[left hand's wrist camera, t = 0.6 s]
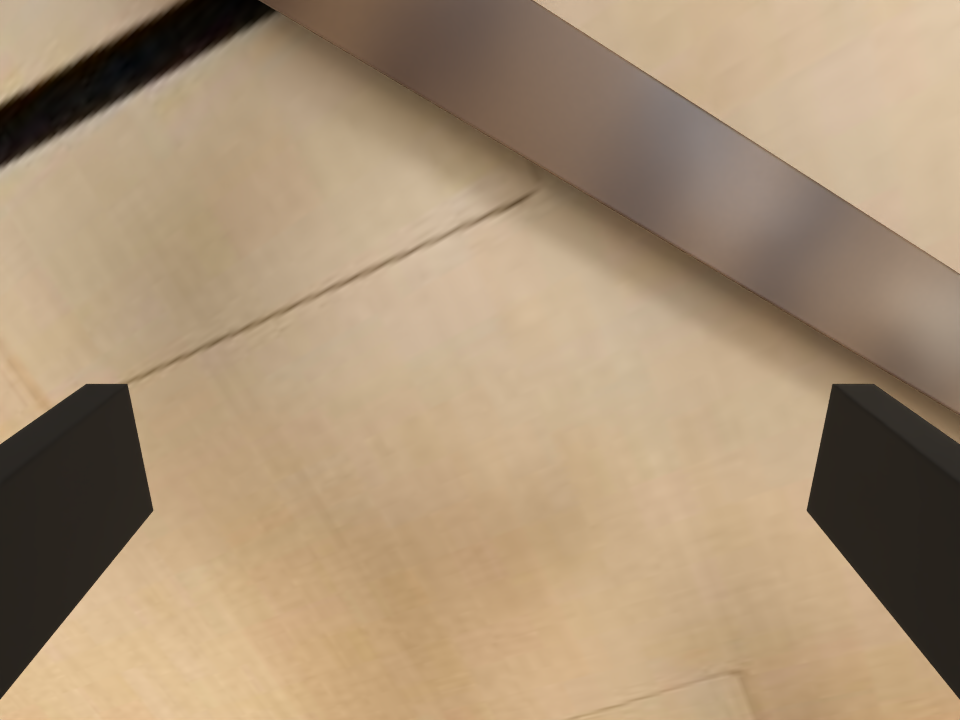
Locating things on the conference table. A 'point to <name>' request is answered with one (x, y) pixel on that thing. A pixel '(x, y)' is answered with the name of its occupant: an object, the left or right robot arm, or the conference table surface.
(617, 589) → the conference table surface
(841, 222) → the beam
